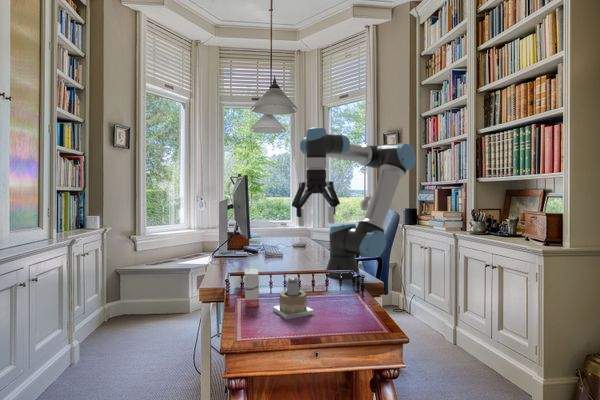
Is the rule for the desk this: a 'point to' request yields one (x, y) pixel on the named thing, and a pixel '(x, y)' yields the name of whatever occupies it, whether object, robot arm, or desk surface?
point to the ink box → (251, 288)
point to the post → (293, 291)
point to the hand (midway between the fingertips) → (316, 224)
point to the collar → (293, 302)
